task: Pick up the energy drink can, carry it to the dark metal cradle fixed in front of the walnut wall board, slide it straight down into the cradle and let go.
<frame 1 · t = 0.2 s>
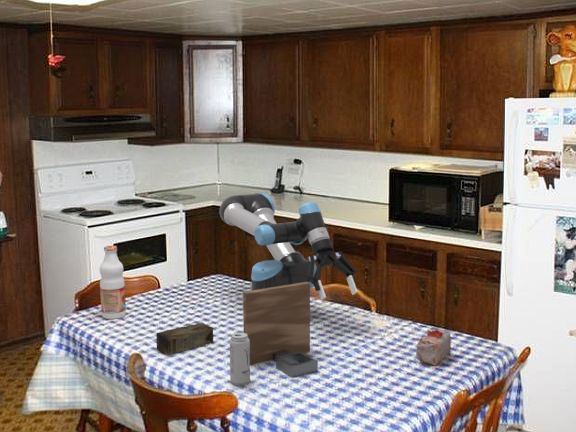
hand: (339, 296, 248), 16 cm above the table, tool tilted 35°, fingers open, 13 cm apart
beverage carton: (185, 347, 243), on the table
food item: (433, 359, 230), on the table
can cradle: (296, 369, 222), on the table
wall board: (277, 357, 232), on the table
energy drink can: (240, 383, 212), on the table
fruit juice: (113, 316, 277), on the table
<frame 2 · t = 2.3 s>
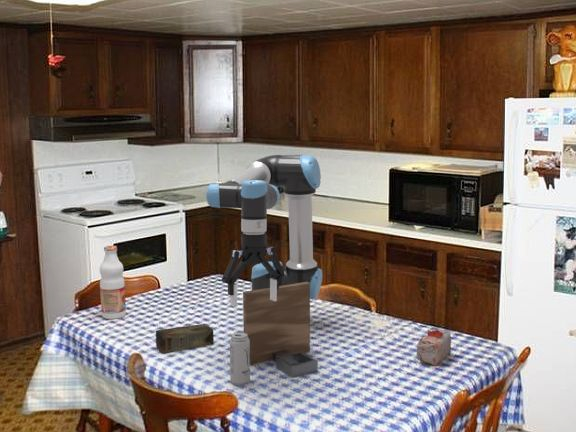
hand: (253, 303, 209), 24 cm above the table, tool pointing down, fingers open, 13 cm apart
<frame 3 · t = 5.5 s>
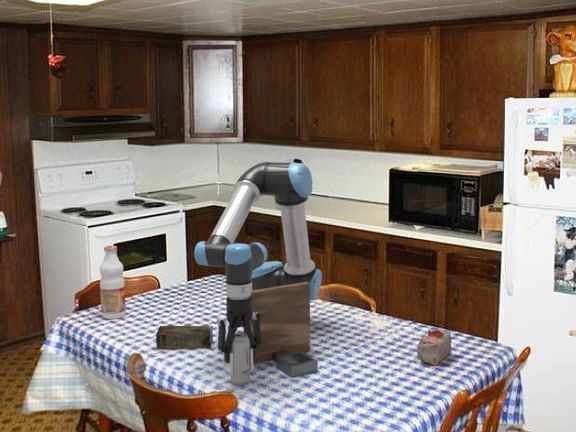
hand: (240, 370, 211), 4 cm above the table, tool pointing down, fingers closed on energy drink can, 6 cm apart
energy drink can: (240, 383, 212), on the table, touching gripper
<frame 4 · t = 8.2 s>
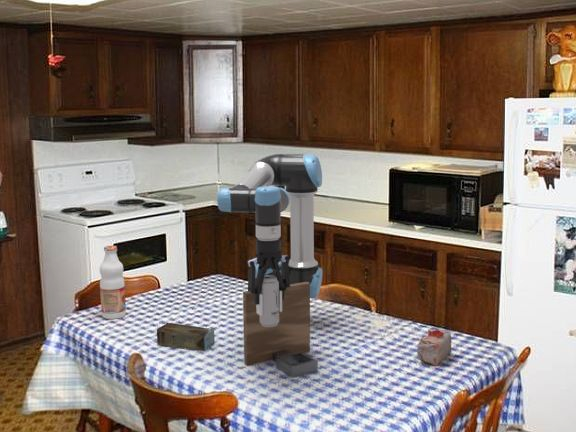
hand: (269, 312, 214), 20 cm above the table, tool pointing down, fingers closed on energy drink can, 6 cm apart
energy drink can: (269, 325, 214), point 16 cm above the table, touching gripper
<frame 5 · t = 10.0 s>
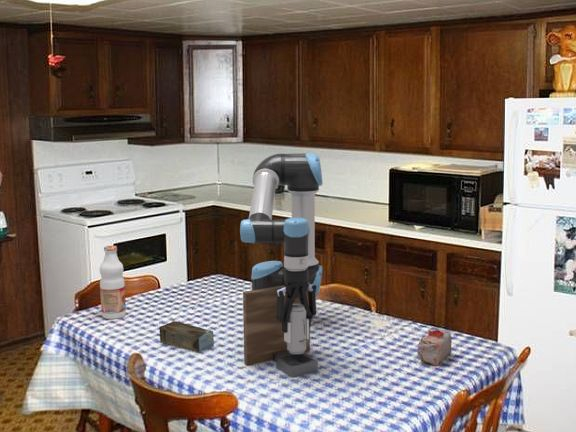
hand: (296, 339, 220), 10 cm above the table, tool pointing down, fingers closed on energy drink can, 6 cm apart
energy drink can: (296, 352, 221), point 6 cm above the table, touching gripper
when the fingers open (5 cm above the table, at t = 11.2 s): energy drink can drops 1 cm, resting in can cradle.
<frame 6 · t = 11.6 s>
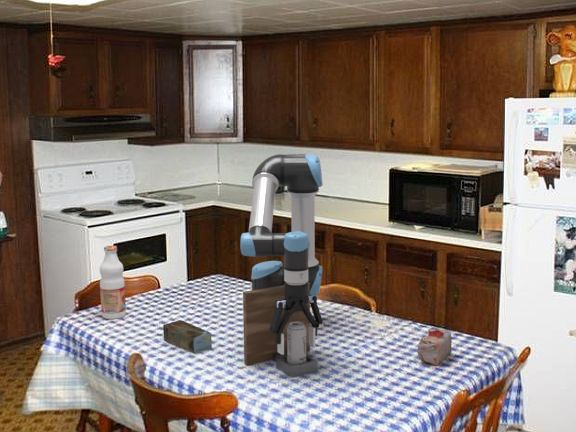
hand: (296, 349, 221), 6 cm above the table, tool pointing down, fingers open, 11 cm apart
energy drink can: (296, 369, 222), resting in can cradle
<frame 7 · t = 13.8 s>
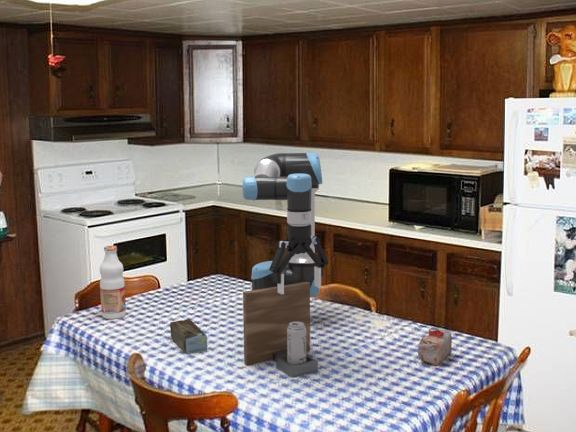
hand: (299, 290, 221), 25 cm above the table, tool pointing down, fingers open, 13 cm apart
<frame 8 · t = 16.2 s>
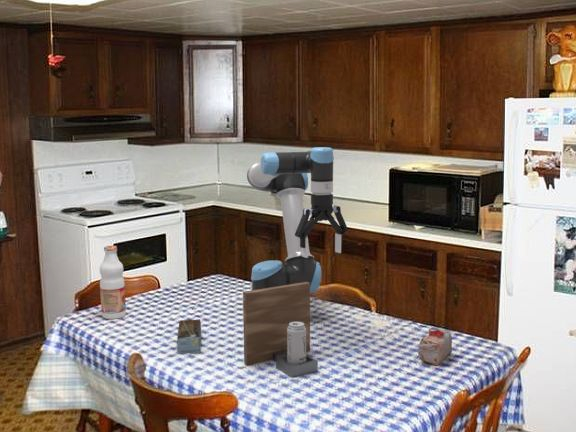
hand: (321, 254, 240), 32 cm above the table, tool pointing down, fingers open, 13 cm apart
at the end: energy drink can 0.1 cm from the can cradle (horizontally); energy drink can tilted 0°; the gripper is holding nothing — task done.
